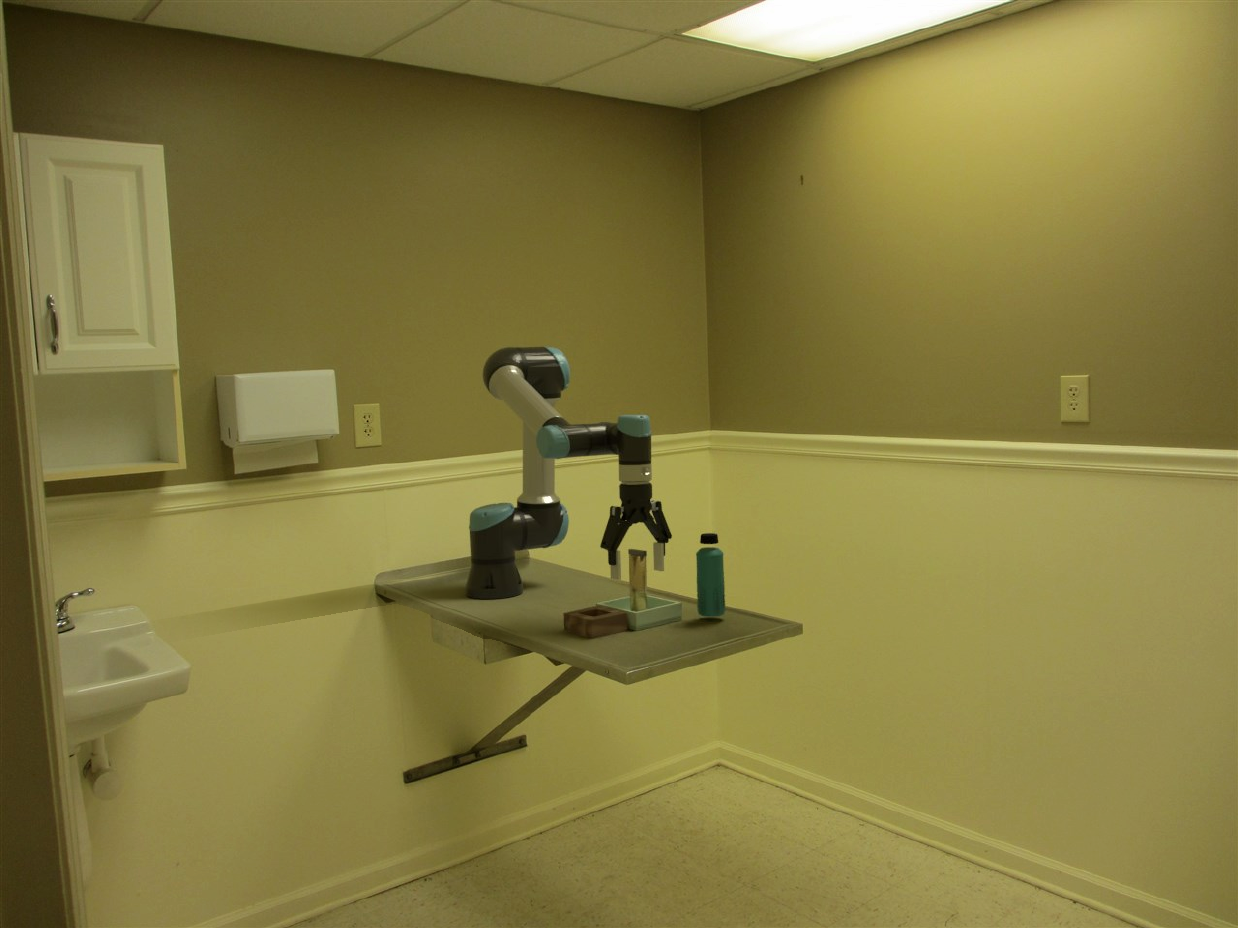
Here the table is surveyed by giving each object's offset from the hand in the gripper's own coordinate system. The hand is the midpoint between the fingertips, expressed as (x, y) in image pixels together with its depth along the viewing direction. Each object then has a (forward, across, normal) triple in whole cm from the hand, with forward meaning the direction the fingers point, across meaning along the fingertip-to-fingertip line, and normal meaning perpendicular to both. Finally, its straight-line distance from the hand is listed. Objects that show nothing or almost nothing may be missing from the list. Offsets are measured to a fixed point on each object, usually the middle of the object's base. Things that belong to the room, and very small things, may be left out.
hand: (637, 574), depth 229 cm
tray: (+11, 0, 0) cm, 11 cm away
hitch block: (+11, -13, 0) cm, 17 cm away
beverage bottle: (+11, +12, -12) cm, 20 cm away
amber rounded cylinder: (+9, 0, 0) cm, 9 cm away
